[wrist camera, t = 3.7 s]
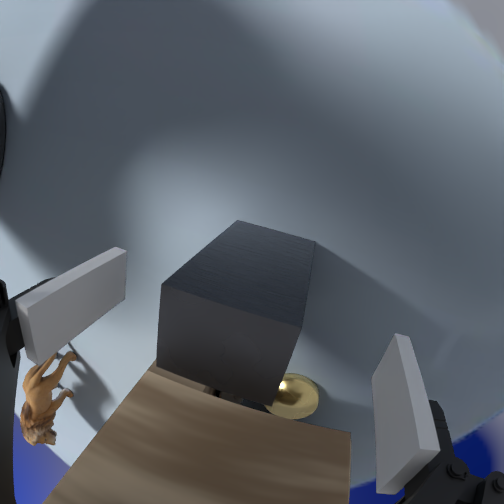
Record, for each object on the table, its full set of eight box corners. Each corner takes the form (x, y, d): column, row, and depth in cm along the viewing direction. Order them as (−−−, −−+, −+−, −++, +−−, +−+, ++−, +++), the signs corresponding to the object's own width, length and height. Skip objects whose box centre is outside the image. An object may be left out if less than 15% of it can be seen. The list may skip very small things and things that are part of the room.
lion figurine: (83, 417, 33) (46, 460, 25) (53, 396, 34) (15, 435, 26) (77, 341, 28) (20, 391, 20) (43, 317, 28) (-14, 358, 20)
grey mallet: (237, 220, 20) (161, 283, 11) (315, 241, 19) (301, 327, 10) (197, 432, 28) (158, 509, 19) (244, 448, 27) (215, 529, 18)
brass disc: (272, 364, 23) (270, 374, 22) (327, 379, 23) (326, 389, 22) (260, 401, 25) (257, 410, 24) (309, 414, 24) (307, 424, 23)
